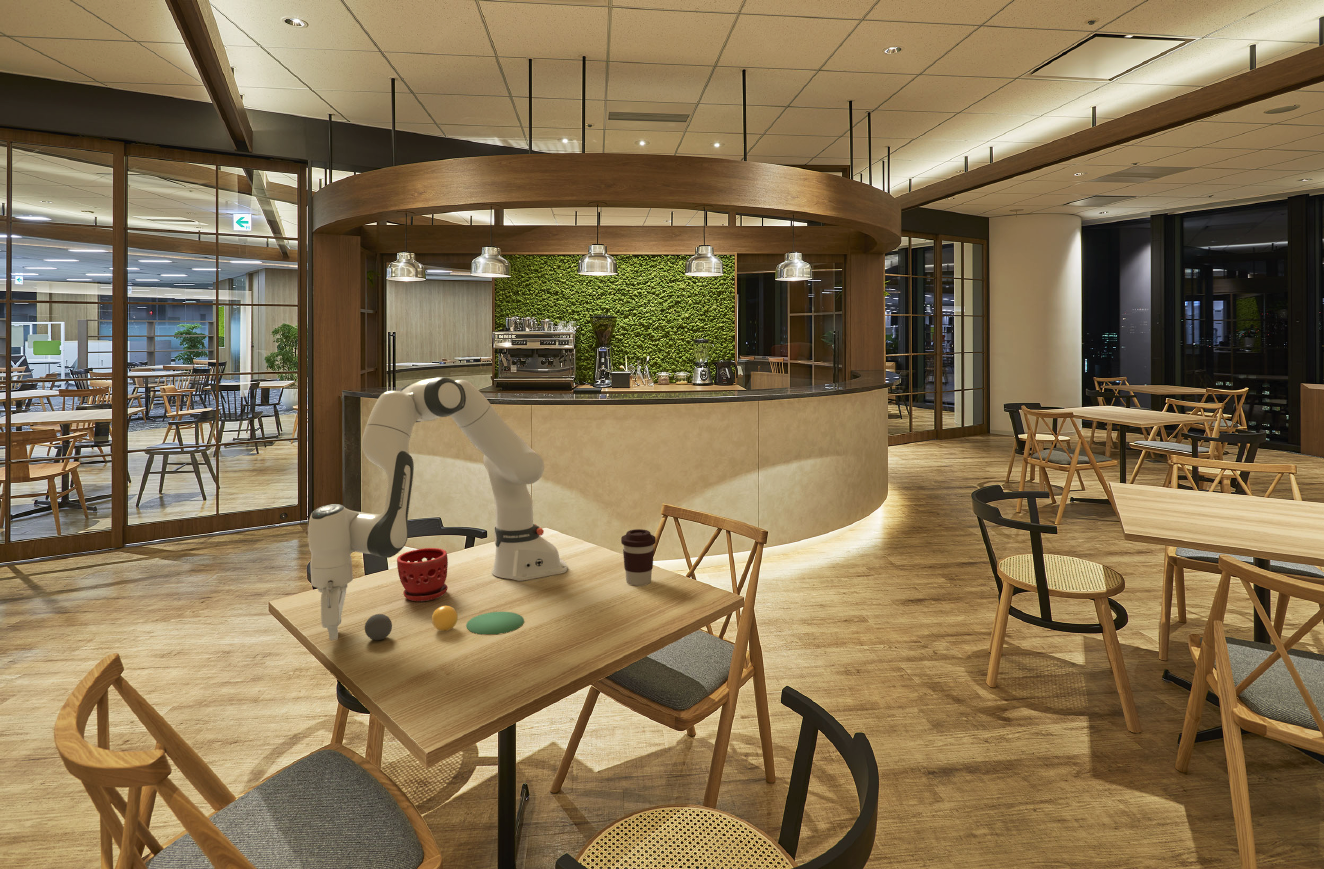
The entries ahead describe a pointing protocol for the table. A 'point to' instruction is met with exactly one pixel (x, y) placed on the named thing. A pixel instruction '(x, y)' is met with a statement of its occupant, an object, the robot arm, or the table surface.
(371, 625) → the dark grey sphere
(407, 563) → the plant pot
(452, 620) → the orange ball
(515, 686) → the table surface
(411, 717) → the table surface
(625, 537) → the coffee cup
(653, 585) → the table surface
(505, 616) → the green mark
